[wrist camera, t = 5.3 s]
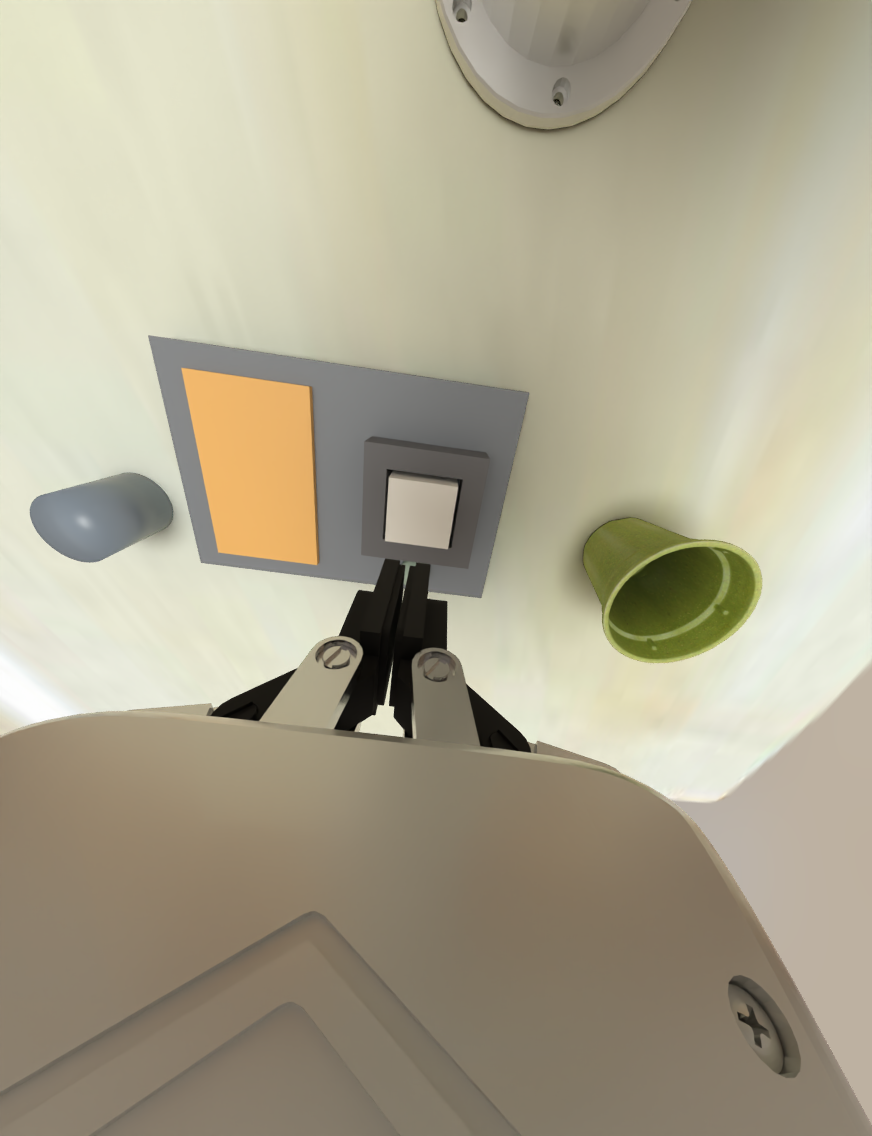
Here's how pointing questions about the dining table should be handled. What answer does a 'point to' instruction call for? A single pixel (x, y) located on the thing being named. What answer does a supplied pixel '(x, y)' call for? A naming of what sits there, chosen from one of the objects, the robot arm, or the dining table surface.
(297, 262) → the dining table surface
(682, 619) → the plant pot
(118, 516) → the cap
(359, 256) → the dining table surface
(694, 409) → the dining table surface
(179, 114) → the dining table surface
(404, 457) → the panel
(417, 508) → the breaker button
